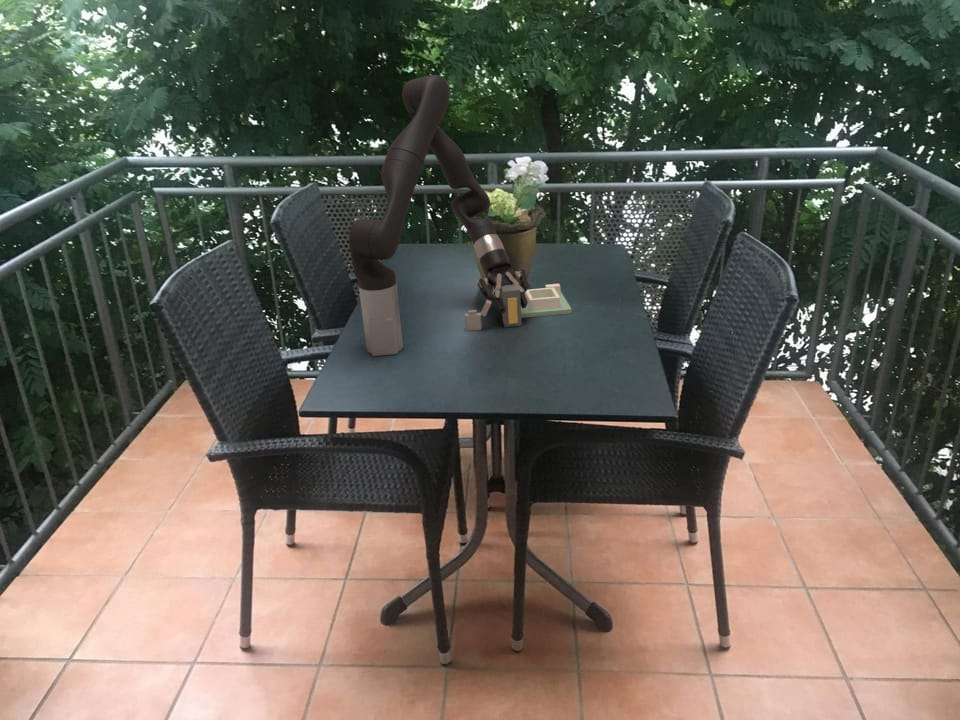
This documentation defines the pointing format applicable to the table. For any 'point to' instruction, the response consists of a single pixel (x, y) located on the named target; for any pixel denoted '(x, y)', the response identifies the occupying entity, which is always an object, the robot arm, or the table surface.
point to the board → (545, 302)
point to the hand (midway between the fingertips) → (514, 309)
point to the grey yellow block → (511, 305)
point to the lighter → (476, 317)
